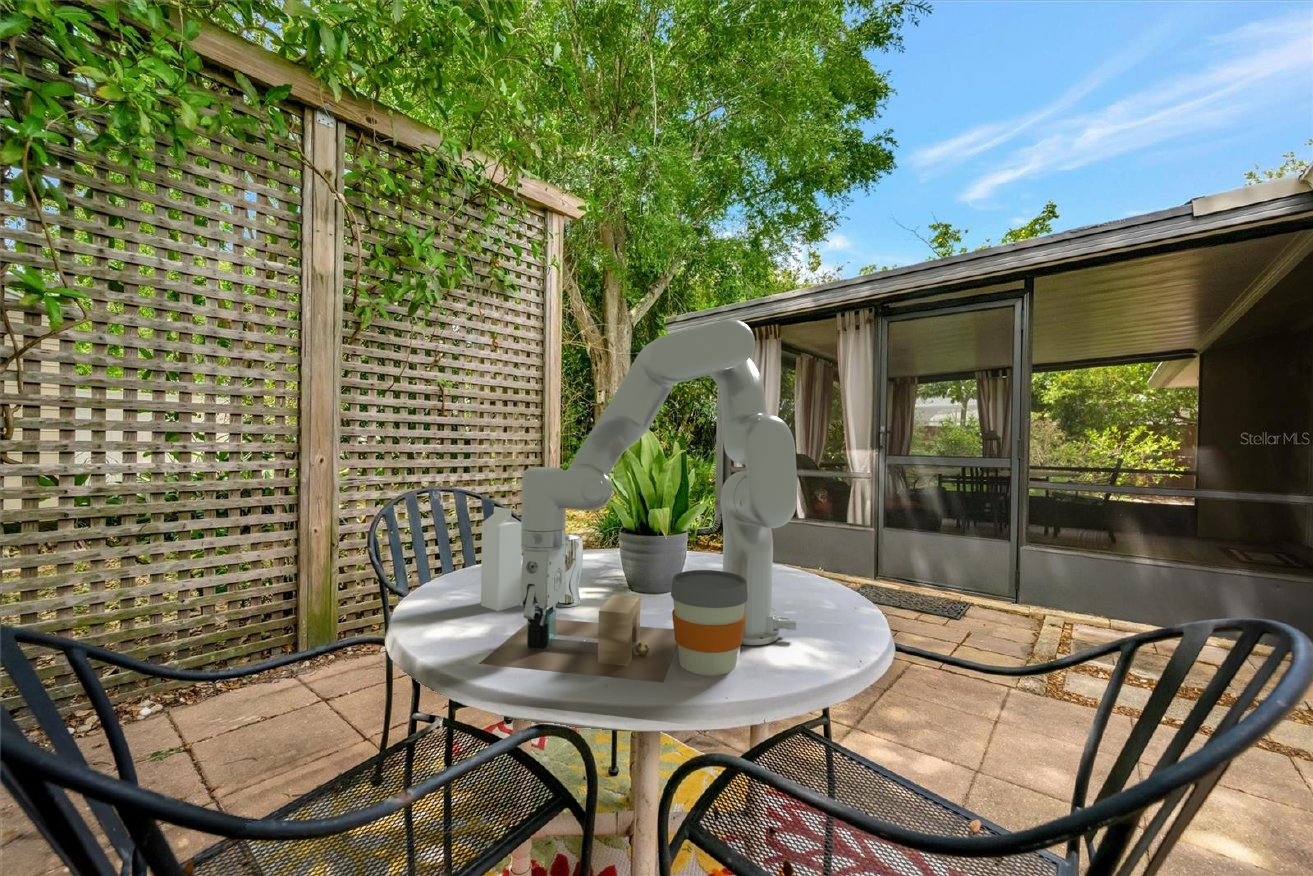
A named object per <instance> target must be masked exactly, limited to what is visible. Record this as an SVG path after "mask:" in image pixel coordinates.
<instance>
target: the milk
mask: <svg viewBox="0 0 1313 876" xmlns="http://www.w3.org/2000/svg"><path fill="white" fill-rule="evenodd" d="M521 524H522V521H519V520H518V519H516V518H515V517H513V516H512V510H511V508H505V507H499V506H494V507H493V513H492V514H491V515H490V516H488V518H486V519H485V520H484V521H482V523H481V562H480V563H481V567H480V569H481V571H480V572H481V575H480V606H481V607H484V608H488V609H490V610H493V611H497V612H500V611H503V610H507V609H510V608H513V607H518V606H519V607H520V606H521V607H522V605H521V594H520V593H521V573H522V550H523V549H522V548H521Z"/></svg>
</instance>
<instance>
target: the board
mask: <svg viewBox="0 0 1313 876" xmlns="http://www.w3.org/2000/svg"><path fill="white" fill-rule="evenodd" d="M598 624H599V622H591V621H581V620H580V621H579V620H578V621H577V620H568V619H567V620H566V619H558V618H556V635H561V636H573V637H584V638H596V639H598ZM640 642H646V643H647V644H648V646H649V652H648V654H646V655H645V656H641V655H639V654H638V653H637V655H636V657H632V659H631V661H630V663H629V665H628V666H624V665H613V664H603V663H598V653H588V652H577V651H566V650H555V649H550V650H539V649H529V648H527V623H525V624H524V625H523V626H522V627H521V628H520V629H518V630H517V631H516V632H515V633H513V634H512V635H511V636H509V638H508V639H506V640H505V641H504V642H503V643H501V644H500V645H499V646H498V647H496V648H495V649H494V650H493V651H492V652H491V653H489V654H488V655H487V656H485V658H483V659H482V660H481V661H480V662H479V663H478V665H487V666H498V667H499V666H500V667H509V668H518V669H527V670H528V669H529V670H537V671H546V672H548V671H549V672H557V673H566V674H567V673H568V674H577V675H587V676H597V677H607V678H616V679H627V680H637V681H646V682H647V681H648V682H656V683H664V681H665V678H666V676H667V672H668V670H669V668H670V665H671V662H672V659H673V657H674V653H675V651H676V648H677V647H678V643H676V641H675V636H674V628H664V627H653V626H641V625H640Z"/></svg>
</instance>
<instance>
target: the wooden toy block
mask: <svg viewBox="0 0 1313 876" xmlns="http://www.w3.org/2000/svg"><path fill="white" fill-rule="evenodd" d="M598 623H599V624H598V663H603V664H613V665H624V666H628V665H629V663H630V661H631V659H632V642H638V644H639V643H640V626H641V596H636V595H625V594H624V595H622V594H612V595H611V596H610V598H608V600H607V601H606V602H605V603H604V604H603V605H602V606H601V608H600V609H599V610H598Z"/></svg>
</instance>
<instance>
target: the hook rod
mask: <svg viewBox="0 0 1313 876" xmlns="http://www.w3.org/2000/svg"><path fill="white" fill-rule="evenodd" d="M535 612H536V613H539V615H540V611H535ZM556 619H557V609H556V610H551V609H548V610H546V616H545V625H547V647H546V648H545V649H539V650H550V649H555V650H566V651H577V652H588V653H598V639H596V638H584V637H573V636H561V635H556ZM526 624H527V623H526ZM527 648H529V647H528V624H527ZM529 649H538V648H529ZM648 652H649V646H648V644H647V643H646V642H640V643H639V644H638V642H632V657H636V655H637V653H638V654H639V655H641V656H645V655H646V654H648Z"/></svg>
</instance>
